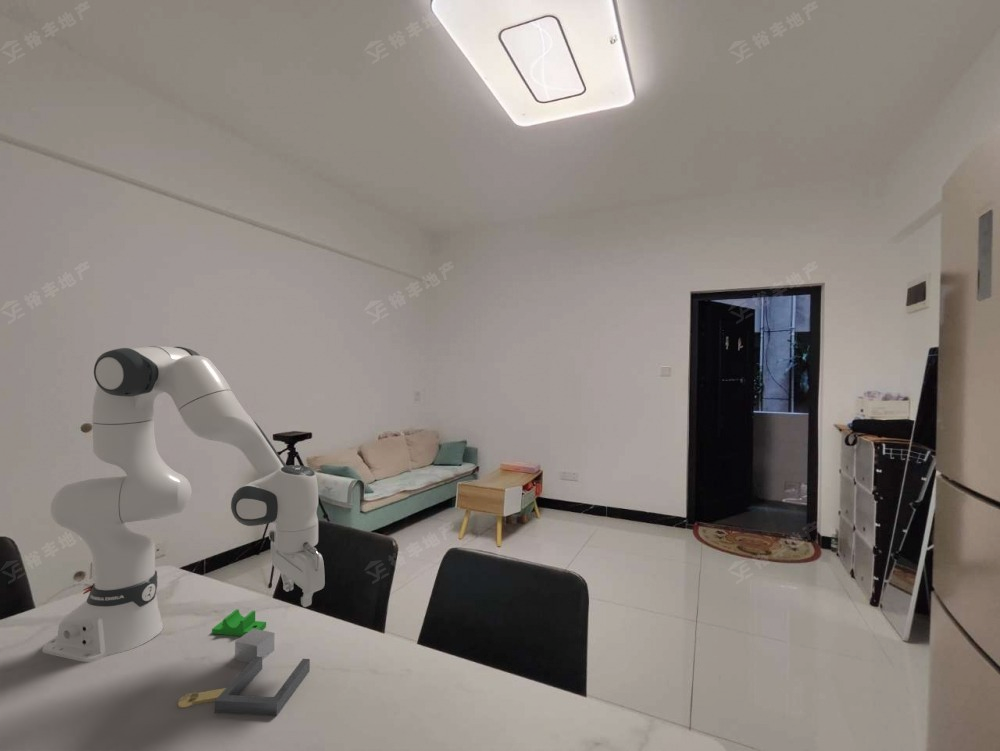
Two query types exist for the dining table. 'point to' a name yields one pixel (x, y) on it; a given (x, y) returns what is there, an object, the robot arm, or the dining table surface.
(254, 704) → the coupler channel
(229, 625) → the pipe clamp
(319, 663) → the dining table surface
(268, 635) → the block
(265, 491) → the robot arm
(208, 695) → the brass key
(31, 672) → the dining table surface
